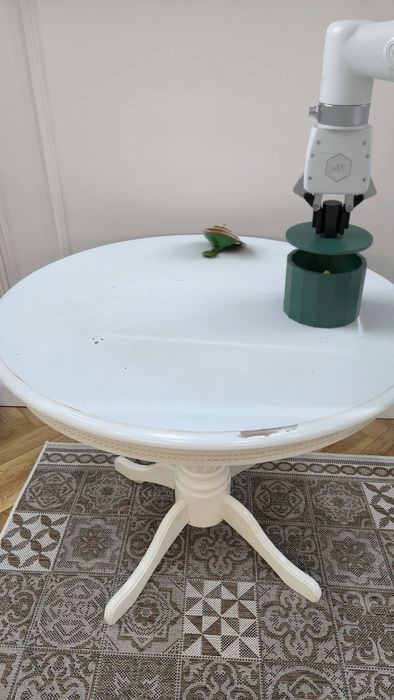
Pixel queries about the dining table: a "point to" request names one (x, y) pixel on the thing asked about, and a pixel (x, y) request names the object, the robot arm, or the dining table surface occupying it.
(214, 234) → the green brown turtle figurine
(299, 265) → the pot
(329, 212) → the lid
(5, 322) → the dining table surface
